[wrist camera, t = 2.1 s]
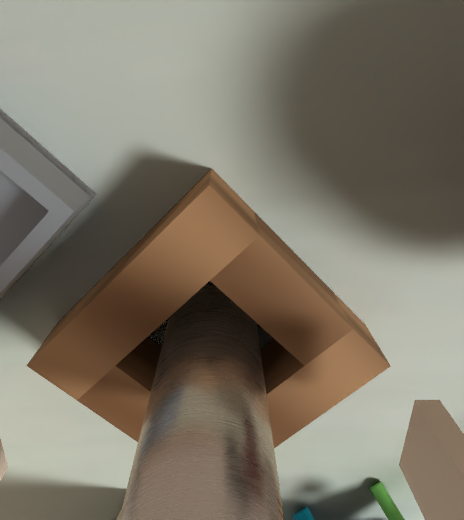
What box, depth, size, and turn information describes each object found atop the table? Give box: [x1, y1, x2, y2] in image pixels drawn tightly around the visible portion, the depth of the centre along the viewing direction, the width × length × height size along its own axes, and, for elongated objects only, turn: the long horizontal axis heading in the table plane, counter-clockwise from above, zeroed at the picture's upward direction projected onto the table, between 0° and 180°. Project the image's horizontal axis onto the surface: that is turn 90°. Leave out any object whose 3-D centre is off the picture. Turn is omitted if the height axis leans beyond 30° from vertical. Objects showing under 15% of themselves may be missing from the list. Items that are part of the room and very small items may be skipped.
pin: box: [119, 285, 284, 520], centre depth 12 cm, size 4×4×14 cm
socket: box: [27, 169, 390, 448], centre depth 17 cm, size 10×10×3 cm
